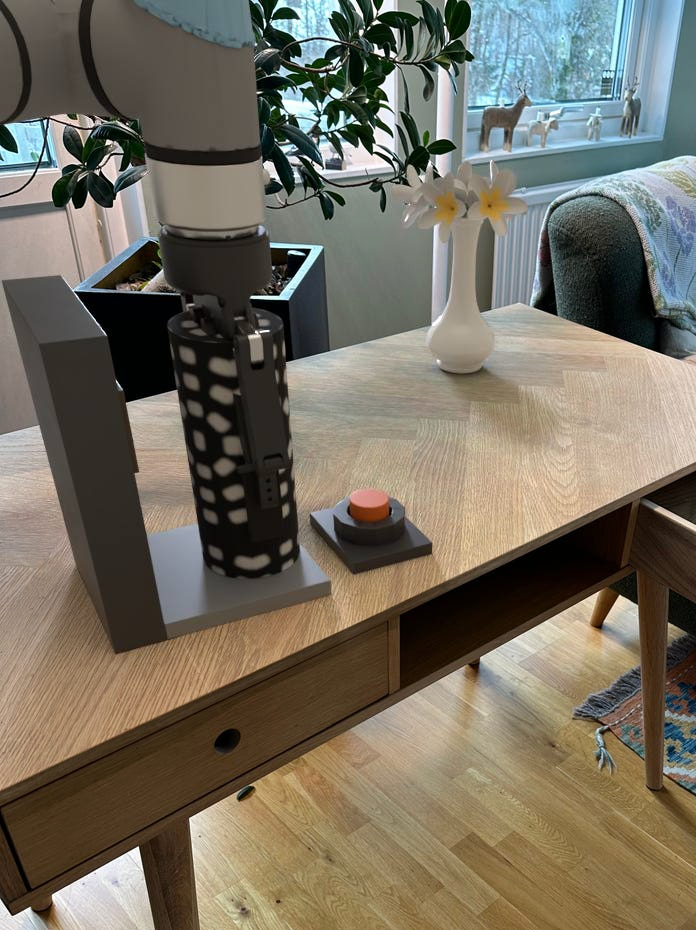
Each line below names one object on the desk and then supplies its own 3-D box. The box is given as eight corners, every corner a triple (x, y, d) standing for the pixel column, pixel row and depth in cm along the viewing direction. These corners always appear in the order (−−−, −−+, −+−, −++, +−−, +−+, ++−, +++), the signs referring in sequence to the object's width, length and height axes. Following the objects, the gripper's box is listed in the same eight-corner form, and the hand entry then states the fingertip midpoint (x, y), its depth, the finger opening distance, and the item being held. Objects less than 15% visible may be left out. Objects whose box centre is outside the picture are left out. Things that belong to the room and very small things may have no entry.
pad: (309, 523, 85) (307, 495, 83) (384, 506, 88) (384, 479, 87) (353, 574, 78) (352, 546, 77) (432, 553, 82) (433, 525, 80)
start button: (343, 510, 82) (343, 493, 81) (378, 502, 84) (378, 485, 83) (360, 527, 80) (359, 510, 79) (395, 519, 81) (395, 502, 80)
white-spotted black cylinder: (249, 519, 82) (224, 299, 70) (319, 547, 79) (306, 321, 67) (182, 558, 76) (142, 324, 64) (255, 590, 73) (227, 351, 61)
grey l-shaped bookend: (75, 565, 77) (1, 280, 62) (272, 520, 85) (247, 258, 70) (115, 654, 68) (38, 343, 53) (331, 594, 76) (316, 310, 61)
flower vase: (422, 338, 128) (426, 144, 113) (535, 367, 122) (555, 165, 106) (370, 363, 119) (367, 155, 104) (489, 396, 112) (503, 179, 97)
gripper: (326, 261, 56) (340, 561, 69) (215, 189, 70) (245, 450, 84) (209, 272, 52) (248, 585, 66) (118, 194, 67) (165, 465, 80)
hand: (246, 510), depth 75 cm, fingers open, 9 cm apart
